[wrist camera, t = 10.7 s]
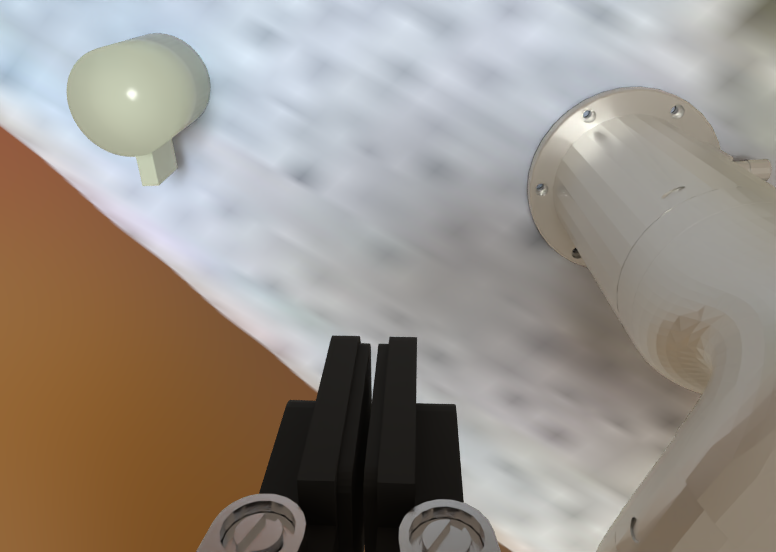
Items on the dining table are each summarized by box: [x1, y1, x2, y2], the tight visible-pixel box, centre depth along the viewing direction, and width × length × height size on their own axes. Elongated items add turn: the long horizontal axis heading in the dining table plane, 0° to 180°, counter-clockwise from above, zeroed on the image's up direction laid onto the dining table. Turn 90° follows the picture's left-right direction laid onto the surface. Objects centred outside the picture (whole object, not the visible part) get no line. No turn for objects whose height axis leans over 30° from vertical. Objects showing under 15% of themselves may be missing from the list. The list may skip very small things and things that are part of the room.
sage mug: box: [67, 33, 210, 186], centre depth 39 cm, size 6×8×7 cm
